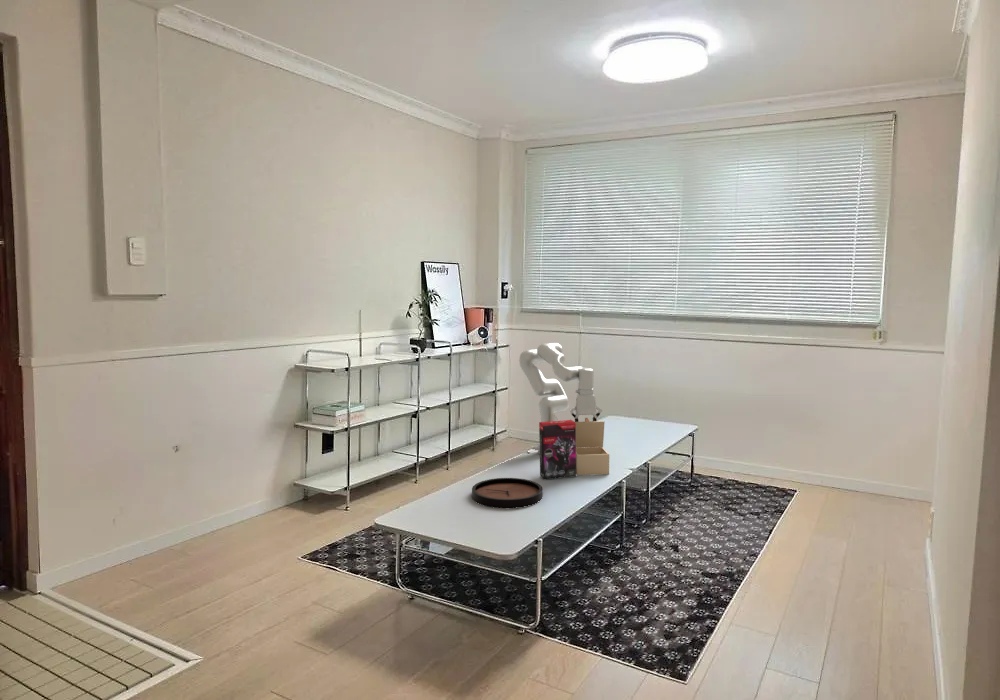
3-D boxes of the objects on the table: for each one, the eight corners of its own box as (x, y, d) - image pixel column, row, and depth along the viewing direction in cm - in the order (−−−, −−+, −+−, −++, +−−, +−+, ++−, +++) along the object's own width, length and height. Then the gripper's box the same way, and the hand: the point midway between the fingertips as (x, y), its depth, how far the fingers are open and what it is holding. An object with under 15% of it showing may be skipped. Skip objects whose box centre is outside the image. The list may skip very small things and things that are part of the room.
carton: (577, 475, 331) (577, 455, 330) (571, 467, 345) (571, 447, 344) (609, 474, 333) (609, 454, 331) (602, 466, 346) (602, 447, 345)
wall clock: (557, 488, 300) (507, 505, 278) (557, 497, 300) (507, 514, 278) (507, 473, 322) (457, 488, 300) (507, 481, 322) (457, 497, 301)
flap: (572, 422, 340) (570, 418, 345) (571, 447, 344) (569, 443, 349) (604, 421, 341) (602, 417, 347) (603, 446, 345) (600, 442, 351)
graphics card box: (543, 480, 323) (543, 424, 320) (538, 476, 329) (538, 421, 326) (576, 477, 327) (577, 422, 324) (571, 473, 334) (571, 419, 331)
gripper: (570, 393, 341) (570, 427, 343) (604, 393, 343) (603, 426, 345) (567, 391, 349) (567, 424, 351) (600, 390, 350) (600, 423, 352)
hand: (585, 425), depth 348 cm, fingers open, 8 cm apart
